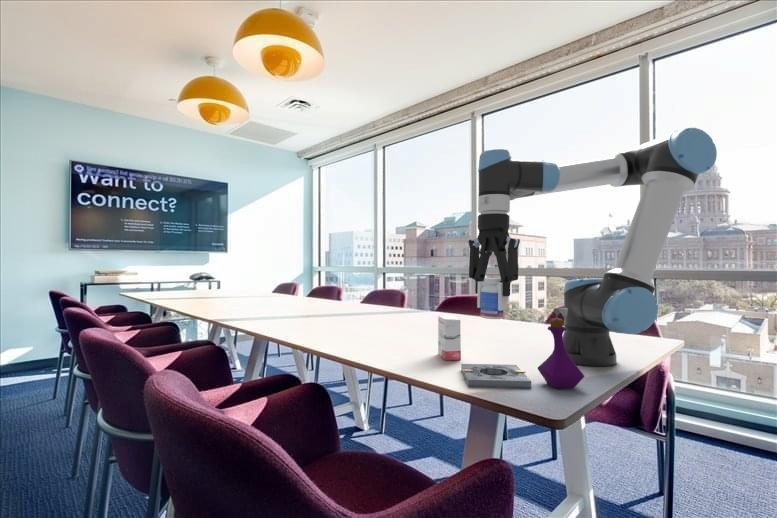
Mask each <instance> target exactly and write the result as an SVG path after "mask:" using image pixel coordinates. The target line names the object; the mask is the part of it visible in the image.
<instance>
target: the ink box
mask: <svg viewBox="0 0 777 518" xmlns="http://www.w3.org/2000/svg"><path fill="white" fill-rule="evenodd" d="M437 317H438V319H437V321H438V323H437V329H438V332H437V333H438V334H437V336H438V339H437V341H438V342H437V347H438V349H437V354H438V355H439V356H440V357H441V358H442V359H443V360H445V361H461V359H462V354H461V353H462V352H461V350H462V349H461V348H462V347H461V346H462V345H461V340H462V339H461V338H462V337H461V336H462V335H461V319H460V318H457V317H456V316H454V315H438V316H437Z"/></svg>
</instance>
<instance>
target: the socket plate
mask: <svg viewBox="0 0 777 518" xmlns="http://www.w3.org/2000/svg"><path fill="white" fill-rule="evenodd" d="M461 372H462V375H463V377H464V380H465V382H466V384H467V387H468V388H473V387H474V388H504V389H505V388H506V389H507V388H509V389H510V388H511V389H517V388H518V389H532V380H531V379H530V378H529V377H528V376H527V375H526V373H527V371H526V370H522V369H520V368H519V366H518V365H517V364H500V363H499V364H496V363H495V364H494V363H491V364H490V363H489V364H488V363H486V364H485V363H481V364H480V363H461Z"/></svg>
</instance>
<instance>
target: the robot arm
mask: <svg viewBox="0 0 777 518" xmlns="http://www.w3.org/2000/svg"><path fill="white" fill-rule="evenodd" d="M717 151H718V150H717V146H716V144H715V143H714V141H713V139H712V136H710V135H709V134H708V133H707V132H706V131H704V130H703V129H700V128H697V127H686V128H682V129H677V130H674V131H672V132H671V133H670V134H667V135H664V136H661V137H658V138H656V139H653V140H651V141H648V142H644V143H642V144H641V145H637V146H635V147H633V148H630V149H628V150H623V151H621V152H615V153H611V154H610V155H609V156H608V157H605V158H597V159H590V160H584V161H578V162H577V161H576V162H570V163H569V162H568V163H563V164H557V163H556V162H554V161H547V160H543V159H542V160H528V159H527V160H522V159H514V158H513V159H512V156H511V151H510V150H508V149H505V148H490V149H486V150H483V151H482V152H481V153H480V155H479V159H478V170H477V173H478V197H477V198H478V199H477V200H478V202H477V203H478V204H477V205H478V206H477V208H478V210H477V212H478V213H479V215H478V216H477V229H478V232H479V233H478V234H477V237H476V238H474V239H469V240H468V246H469V263H468V264H469V265H468V277H469V279H473V280H474V282H475V285H474V286H475V287H474V288H475V290H474V291H475V294H477V300H476V305H477V306H476V308H478V309H479V308H480V309H481V289H482V287H484V286H485V284H484V278H486V273H487V269H488V266H489V262H490V257H491V256H492V254H494V255H495V259H496V263H497V267H498V272H499V277H500V278H501V281H500V283H498V310H500V311H501V310H503V311H508V297H510V295H511V283H512V282H514V281H518V280H519V247H520V243H521V239H520V238H515V237H511V236H510V234H509V229H510V215H509V213H510V211H511V210H510V209H511V208H510V205H511V201H514V200H517V199H520V198H526V197H532V196H540V195H546V194H553V193H560V192H567V191H574V190H579V189H587V188H593V187H595V188H596V187H600V186H608V185H610V186H611V187H614V188H619V187H626V186H627V187H628V186H640V185H641V186H643V185H645V186H644V189H643V192H642V194H641V195H640V198H639V202H638V204H637V207H636V209H635V212H634V215H633V217H632V219H631V222H630V224H629V225H630V226H629V227H628V230H627V232H626V235H625V238H624V240H623V244H622V246H621V247H620V252H619V253H618V257H617V259H616V261H615V264H614V267H613V268H612V269H610V270H608V271H606V272H605V273H604V274H603V277H602V278H580V279H570V280H568V281H566V282H565V283H564V289H563V296H564V297H563V300H564V302H563V304H564V305H563V308H567V309H568V313H567V316H566V317H565V318H564V317H563V319H564V320H563V327H565V328H566V330H565V331H564V332H563V335H562V339H563V343H564V347H565V350H566V352H567V354H568V355H569V357H570V358H571V359H572V360H573V362H574V363H575V364H576V365H581V366H587V367H589V366H591V367H608V366H609V367H610V366H614V365H617V353H616V349H615V347H614V344H613V341H612V339H611V335H610V331H611V332H614V333H617V334H627V335H635V334H636V335H637V334H640V333H642V332H644V331H646V330H648V329H649V328H650V327H651V326H652V325H653V324H654V322H655V321H656V319H657V317H658V313H659V304H658V303H657V302H658V301H657V300H658V299H657V298H656V296H655V295H654V292H655V290H656V287H655V284H654V283H653V282H652V278H653V276H654V272H655V269H656V267H657V264H658V262H659V259H660V257H661V254H662V251H663V250H664V249H663V248H664V246H665V244H666V242H667V238H668V235H669V233H670V230H671V228H672V225H673V223H674V220H675V217H676V214H677V212H678V209H679V206H680V204H681V202H682V199H683V196H684V193H687V192H688V191H691V190H693V189H694V187H695V184H696V182H697V179H698V177H699V175H700V174H704V173H706V172H708V171H709V170H711V169H712V168H713V167H714V165H715V163H716V161H717V156H718V155H717V154H718V153H717ZM506 245H507V249H506Z"/></svg>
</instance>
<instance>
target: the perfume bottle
mask: <svg viewBox="0 0 777 518" xmlns="http://www.w3.org/2000/svg"><path fill="white" fill-rule="evenodd" d="M553 312H554V314H555V316H556V317H554V318H551V319H549V324H550V326H547V331H550V332H551V334H552V337H553V346H554V347H553V351H552V352H551V354H550V355H549V357H547V359H545V360H544V361H543V362H542V363H541V364H540V365H539V366H537V370H538V372H539V374H541V376H542V377H543V380H544V381H545V382H546V384H548V385H549V386H551V388H554V389H556V390H564V389H565V390H568V389H569V390H570V389H571V390H572V389H574V388H575V387H576V386H577V385H578V384H579V383H580V382H581V381H582V380H583V379H584V378H585V375H584V373H583V372H582V371H581V369H580V368H579V367H578V366H577V364H575V363H574V362H573V360H572V359H571V358H570V357H569V355H568V354H567V352H566V350H565V347H564V343H563V339H562V337H563V334H564V331H565V330H566V328H565V327H564V320H563V319H564V318H565V317H566V316H567V313H568V309H567V308H564V307H554V308H553ZM559 314H561V315H562V317H563V319H562V318H558V316H559Z"/></svg>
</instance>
